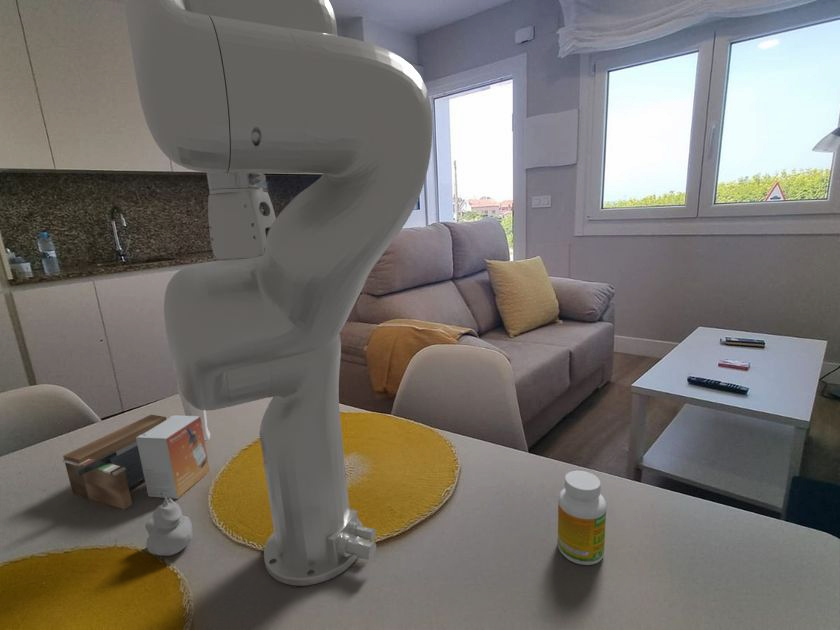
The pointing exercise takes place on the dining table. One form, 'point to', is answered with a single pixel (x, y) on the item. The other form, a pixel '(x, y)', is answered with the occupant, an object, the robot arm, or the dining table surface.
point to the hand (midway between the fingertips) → (252, 303)
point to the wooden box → (106, 465)
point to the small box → (173, 456)
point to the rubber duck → (168, 529)
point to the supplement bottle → (581, 518)
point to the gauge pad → (120, 463)
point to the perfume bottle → (195, 414)
